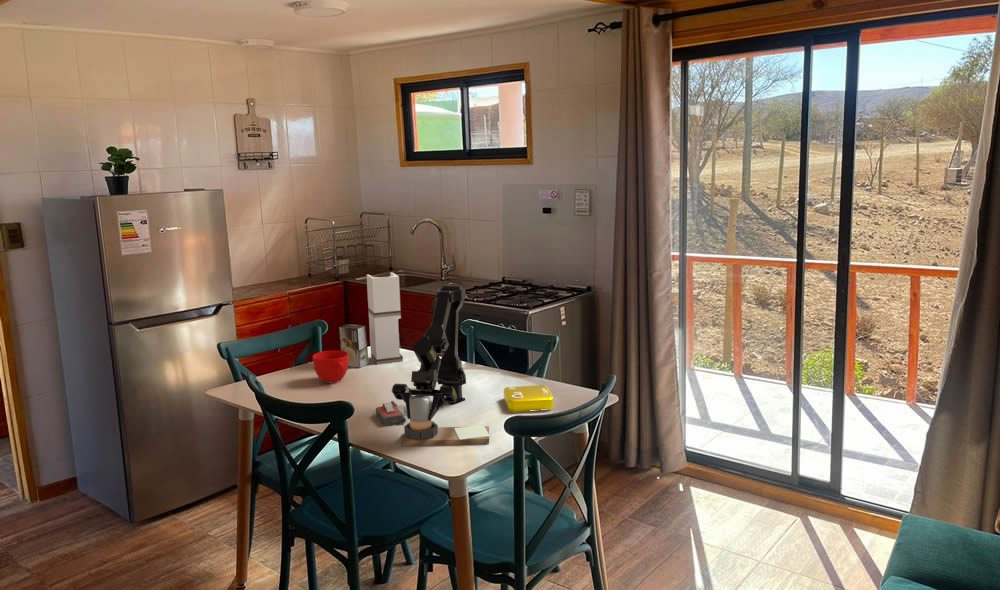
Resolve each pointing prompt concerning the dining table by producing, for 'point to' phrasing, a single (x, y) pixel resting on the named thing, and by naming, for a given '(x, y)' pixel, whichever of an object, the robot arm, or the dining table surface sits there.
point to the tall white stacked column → (384, 318)
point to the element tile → (528, 398)
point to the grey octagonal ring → (421, 432)
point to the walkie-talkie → (390, 414)
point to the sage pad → (471, 432)
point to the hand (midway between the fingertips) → (419, 419)
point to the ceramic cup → (331, 365)
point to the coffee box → (354, 344)
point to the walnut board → (445, 438)
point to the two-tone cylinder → (420, 413)
